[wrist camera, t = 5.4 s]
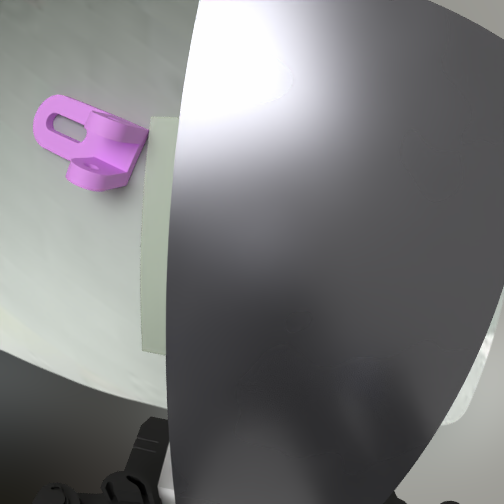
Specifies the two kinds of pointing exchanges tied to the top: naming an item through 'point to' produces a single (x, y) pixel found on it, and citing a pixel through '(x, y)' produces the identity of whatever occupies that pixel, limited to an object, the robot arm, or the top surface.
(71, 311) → the top surface
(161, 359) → the top surface
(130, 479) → the robot arm
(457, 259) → the rail
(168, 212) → the mat
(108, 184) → the bracket
